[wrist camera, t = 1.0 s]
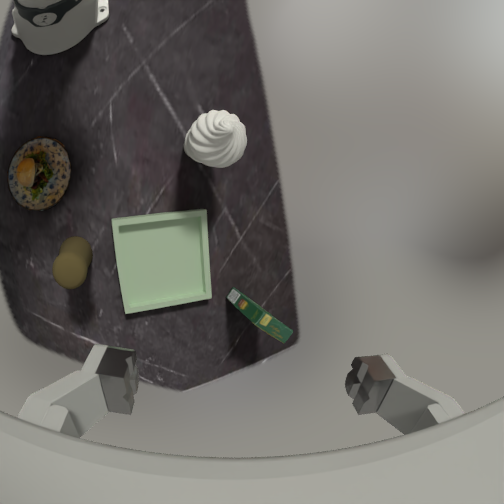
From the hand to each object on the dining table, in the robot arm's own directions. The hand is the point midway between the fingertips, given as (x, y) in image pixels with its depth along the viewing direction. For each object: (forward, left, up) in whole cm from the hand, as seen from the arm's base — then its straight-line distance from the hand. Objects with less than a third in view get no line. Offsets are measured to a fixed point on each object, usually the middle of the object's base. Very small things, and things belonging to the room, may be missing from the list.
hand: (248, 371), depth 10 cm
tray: (+7, +4, -42) cm, 43 cm away
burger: (-10, -16, -43) cm, 47 cm away
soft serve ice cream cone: (-12, +11, -43) cm, 46 cm away
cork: (+4, -11, -43) cm, 44 cm away
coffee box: (+18, +19, -43) cm, 50 cm away
